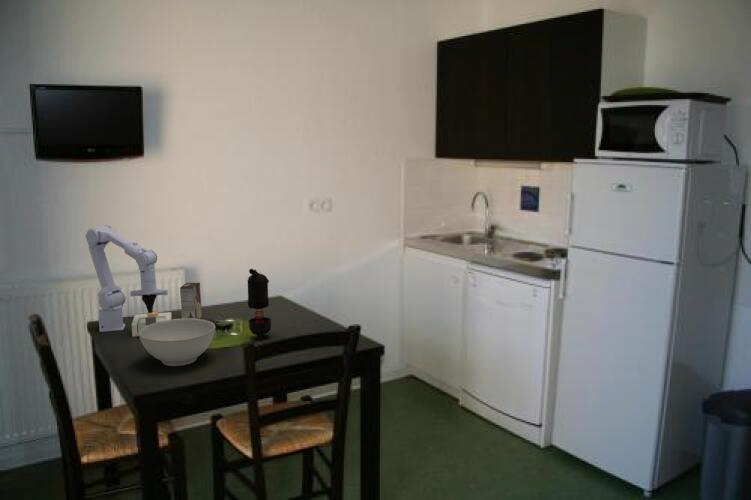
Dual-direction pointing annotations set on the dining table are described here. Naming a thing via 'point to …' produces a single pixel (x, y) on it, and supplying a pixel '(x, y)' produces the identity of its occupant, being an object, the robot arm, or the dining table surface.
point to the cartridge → (148, 322)
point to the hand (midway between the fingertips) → (150, 312)
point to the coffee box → (191, 300)
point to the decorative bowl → (177, 340)
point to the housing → (143, 316)
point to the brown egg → (153, 313)
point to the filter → (258, 303)
